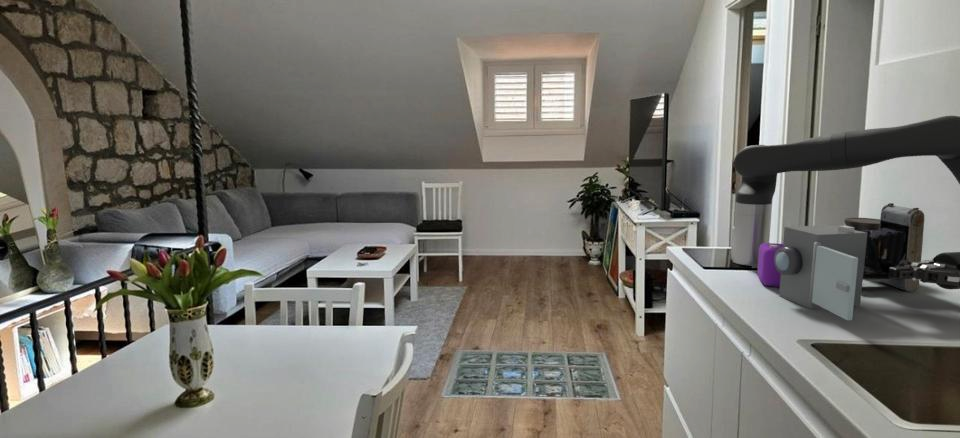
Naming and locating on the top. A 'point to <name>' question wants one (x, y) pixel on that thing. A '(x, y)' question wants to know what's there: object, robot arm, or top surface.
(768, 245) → the toy camera
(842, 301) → the side door
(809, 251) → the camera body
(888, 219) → the vintage camera
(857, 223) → the coffee can
